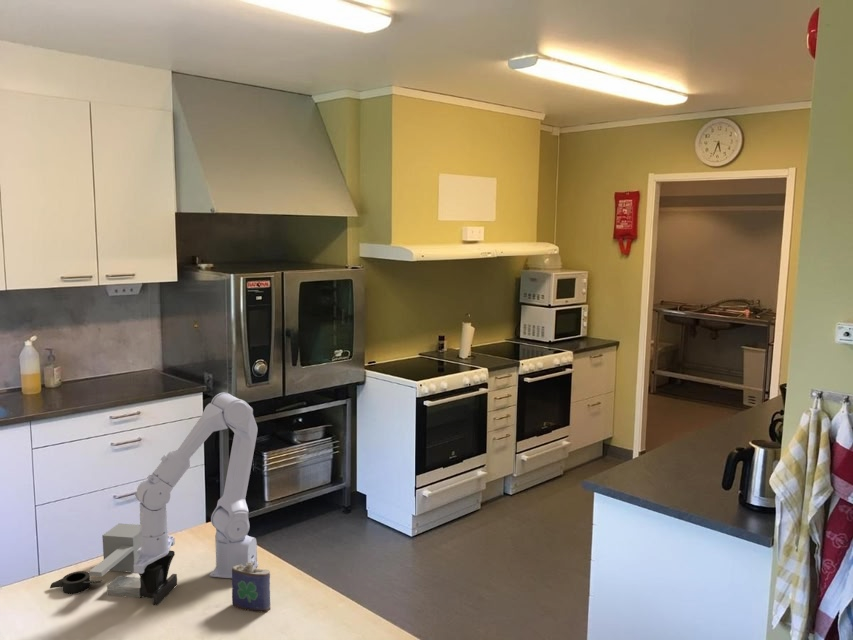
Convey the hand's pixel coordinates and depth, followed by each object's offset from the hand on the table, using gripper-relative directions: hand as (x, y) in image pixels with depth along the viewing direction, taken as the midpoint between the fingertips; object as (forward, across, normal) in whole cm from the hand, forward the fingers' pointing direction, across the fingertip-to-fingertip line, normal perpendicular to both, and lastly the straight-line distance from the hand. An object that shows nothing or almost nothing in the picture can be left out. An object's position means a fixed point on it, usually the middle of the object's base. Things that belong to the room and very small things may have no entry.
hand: (156, 587), depth 158 cm
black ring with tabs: (+2, 0, -20) cm, 20 cm away
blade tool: (+2, 0, -4) cm, 4 cm away
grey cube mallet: (+1, -5, -14) cm, 16 cm away
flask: (+2, +2, +24) cm, 24 cm away
